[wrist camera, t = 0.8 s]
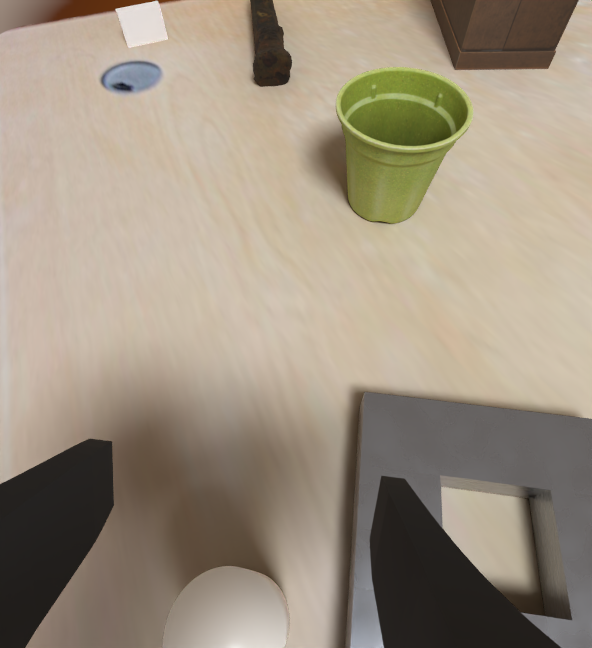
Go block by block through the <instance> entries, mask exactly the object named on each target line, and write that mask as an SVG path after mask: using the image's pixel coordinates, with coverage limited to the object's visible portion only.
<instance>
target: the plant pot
mask: <svg viewBox="0 0 592 648" xmlns="http://www.w3.org/2000/svg"><path fill="white" fill-rule="evenodd" d="M336 112H337V116H338V118H339V120H340V122H341V124H342V130H343V133H344V136H345V141H346V162H347V188H348V200H349V203H350V205H351V207H352V209H353V210H354V211H355V212H356V213H357V214H358V215H360V216H361V217H363V218H365V219H367V220H369V221H373V222H374V221H383V222H388V223H390V224H393V223H398V222H401V221H404V220H406V219H408V218H410V217H411V216H412V215H413V214H414V213H415V212H416V210H417V209H418V207H419V205H420V203H421V201H422V199H423V197H424V195H425V193H426V191H427V189H428V187H429V185H430V183H431V181H432V179H433V177H434V176H435V174H436V172H437V170H438V168H439V166H440V164H441V162H442V160H443V158H444V156H445V154H446V153H447V152H448V151H449V150H450V149H451V148H452V146H453V145H454V144H455V142H456V140H458V139H459V138H460V137H461V136H462V135H463V134H464V133H465V132H466V131H467V129H468V128H469V126H470V124H471V121H472V118H473V106H472V103H471V101H470V99H469V97H468V96H467V94H466V93H465V92H464V91H463V90H462V89H461V88H460V87H459V86H458V85H457V84H455V83H454V82H452V81H451V80H449V79H447V78H445V77H443V76H441V75H439V74H436V73H432V72H429V71H425V70H421V69H415V68H406V67H388V68H380V69H375V70H371V71H367V72H364V73H362V74H360V75H358V76H356V77H354V78H353V79H351V80H349V81H348V82H347V83H346V84H345V85H344V86H343V87H342V88H341V90H340V91H339V93H338V95H337V99H336Z"/></svg>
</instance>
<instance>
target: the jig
mask: <svg viewBox="0 0 592 648" xmlns="http://www.w3.org/2000/svg"><path fill="white" fill-rule="evenodd" d="M381 476H388V477H396V478H404V479H405V480H406V481H407V482H408V484H409V485H410V486H411V488H412V489H413V490H414V492H415V493H416V494H417V496H418V497H419V498H420V500H421V501H422V502H423V504H424V505H425V506H426V508H427V509H428V510H429V512H430V513H431V514H432V516H433V517H434V518H435V520H436V521H437V522H438V523H439V525H440V526H441V527H442V504H441V487H449V488H456V489H463V490H471V491H478V492H486V493H493V494H500V495H508V496H515V497H522V498H529V503H530V510H531V517H532V524H533V532H534V539H535V546H536V553H537V560H538V568H539V575H540V582H541V589H542V596H543V604H544V611H545V616H540V615H534V614H527V613H522V614H523V615H524V616H525V617H526V618H527V619H529V620H530V621H531V622H532V623H533V624H534V625H535V626H536V627H538V628H539V629H540V630H541V631H542V632H543V633H545V634H546V635H547V636H548V637H549V638H550V639H552V640H553V641H554V642H555V643H556V644H557V645H559V646H560V647H561V648H592V419H588V418H580V417H571V416H563V415H555V414H546V413H538V412H529V411H521V410H513V409H504V408H496V407H488V406H479V405H471V404H463V403H454V402H446V401H437V400H429V399H421V398H412V397H404V396H396V395H387V394H379V393H371V392H364V395H363V398H362V401H361V404H360V409H359V426H358V442H357V459H356V476H355V492H354V509H353V525H352V542H351V559H350V575H349V592H348V608H347V625H346V642H345V648H384V646H383V640H382V635H381V629H380V623H379V618H378V612H377V606H376V600H375V594H374V589H373V582H372V573H371V558H370V540H369V539H370V533H371V528H372V523H373V517H374V512H375V507H376V501H377V496H378V491H379V485H380V480H381Z"/></svg>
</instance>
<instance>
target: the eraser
mask: <svg viewBox="0 0 592 648" xmlns="http://www.w3.org/2000/svg"><path fill="white" fill-rule="evenodd" d="M116 12H117V16H118V19H119V22H120V25H121V28H122V31H123V34H124V37H125V40H126V43H127V46H128V48H130V47H135V46H140V45H144V44H149V43H154V42H159V41H163V40H168V37H167V33H166V29H165V25H164V20H163V16H162V12H161V8H160V5H159V3H158V1H155V2H149V3H144V4H139V5H134V6H128V7H123V8H118V9H116Z"/></svg>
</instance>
